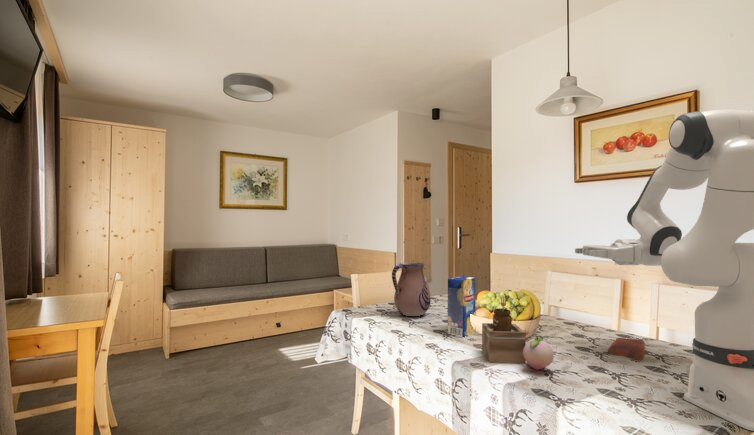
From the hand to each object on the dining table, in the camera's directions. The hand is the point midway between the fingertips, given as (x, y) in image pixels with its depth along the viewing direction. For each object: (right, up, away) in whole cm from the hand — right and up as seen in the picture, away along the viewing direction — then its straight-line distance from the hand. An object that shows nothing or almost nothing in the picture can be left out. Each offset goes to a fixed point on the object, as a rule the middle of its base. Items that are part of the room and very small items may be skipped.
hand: (582, 251), depth 128 cm
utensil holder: (-29, -26, -4) cm, 39 cm away
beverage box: (-36, -35, +22) cm, 55 cm away
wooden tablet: (+20, -36, +6) cm, 41 cm away
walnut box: (-29, -34, -5) cm, 45 cm away
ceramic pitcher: (-55, -36, +51) cm, 83 cm away
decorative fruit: (-22, -34, -17) cm, 44 cm away
